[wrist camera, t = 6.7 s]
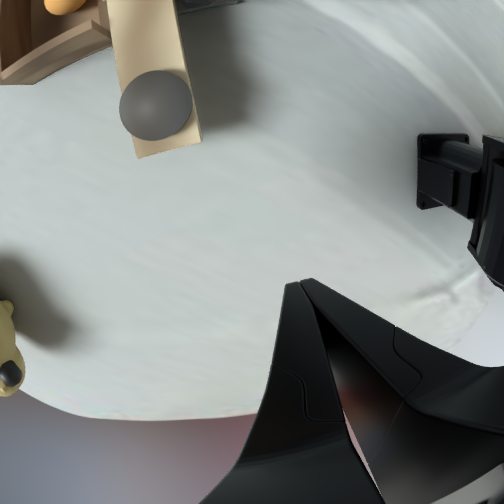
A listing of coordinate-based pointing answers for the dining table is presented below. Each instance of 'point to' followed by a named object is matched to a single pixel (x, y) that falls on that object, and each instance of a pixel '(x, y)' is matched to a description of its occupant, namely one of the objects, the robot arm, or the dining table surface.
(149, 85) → the lever
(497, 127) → the dining table surface
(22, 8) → the tray
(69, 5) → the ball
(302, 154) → the dining table surface
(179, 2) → the fulcrum
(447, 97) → the dining table surface
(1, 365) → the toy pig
